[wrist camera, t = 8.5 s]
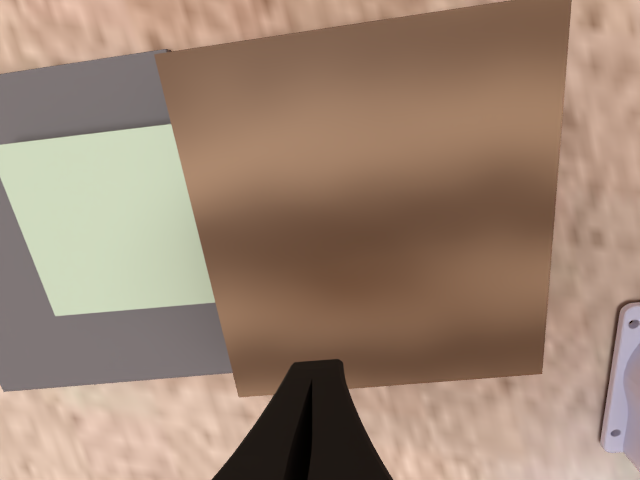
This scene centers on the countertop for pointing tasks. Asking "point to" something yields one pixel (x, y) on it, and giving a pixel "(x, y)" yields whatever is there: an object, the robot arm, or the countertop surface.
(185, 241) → the coaster
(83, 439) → the countertop surface
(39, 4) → the countertop surface
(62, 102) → the rubber mat
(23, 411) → the countertop surface
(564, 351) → the countertop surface
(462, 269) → the walnut board
